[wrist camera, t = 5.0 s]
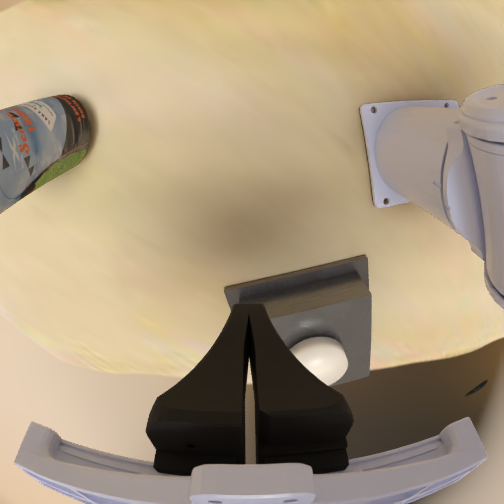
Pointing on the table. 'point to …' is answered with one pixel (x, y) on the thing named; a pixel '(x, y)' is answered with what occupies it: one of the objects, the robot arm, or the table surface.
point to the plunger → (322, 358)
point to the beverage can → (39, 144)
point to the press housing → (318, 308)
